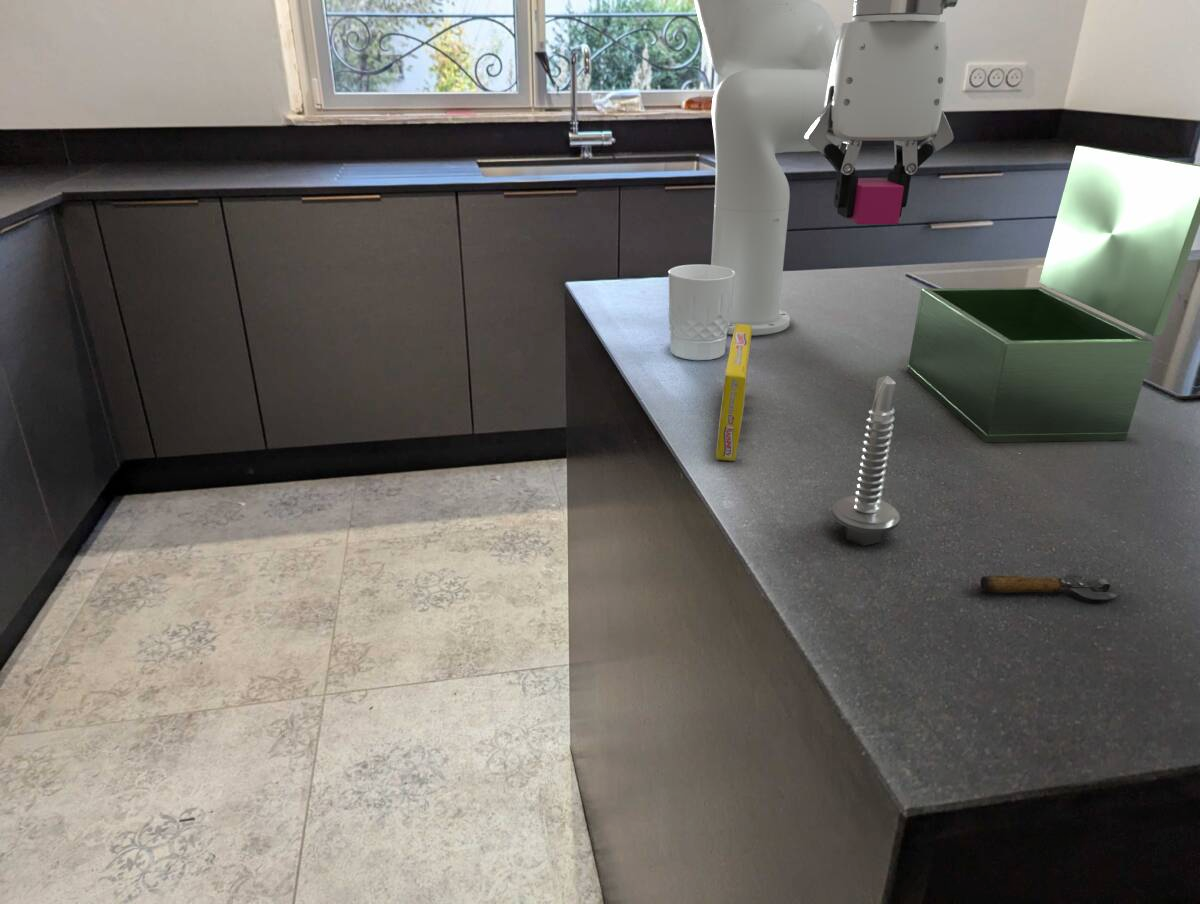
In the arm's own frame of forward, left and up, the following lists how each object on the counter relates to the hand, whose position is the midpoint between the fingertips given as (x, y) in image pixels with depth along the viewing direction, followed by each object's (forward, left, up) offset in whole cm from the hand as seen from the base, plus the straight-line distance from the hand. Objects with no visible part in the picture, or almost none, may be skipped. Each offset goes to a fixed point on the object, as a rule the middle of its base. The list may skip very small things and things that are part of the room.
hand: (868, 213), depth 81 cm
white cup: (-14, +14, -19) cm, 28 cm away
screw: (-8, -30, -19) cm, 36 cm away
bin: (+16, -4, -19) cm, 25 cm away
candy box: (-14, -9, -19) cm, 25 cm away
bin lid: (+23, -4, -1) cm, 23 cm away
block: (0, 0, 0) cm, 0 cm away
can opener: (+2, -38, -19) cm, 42 cm away
